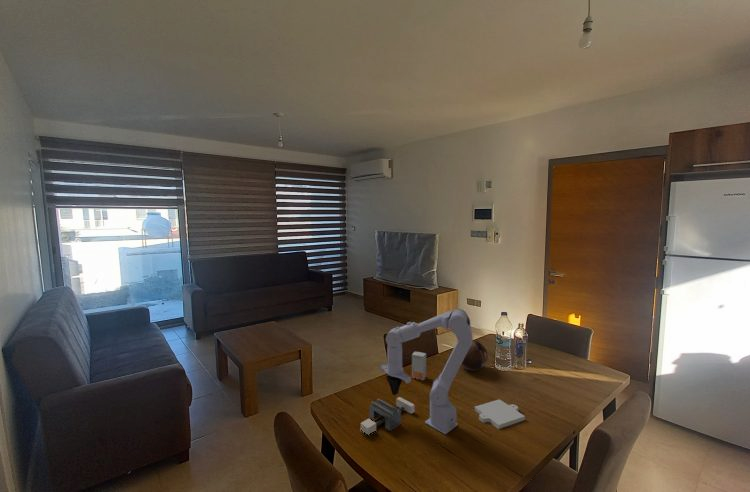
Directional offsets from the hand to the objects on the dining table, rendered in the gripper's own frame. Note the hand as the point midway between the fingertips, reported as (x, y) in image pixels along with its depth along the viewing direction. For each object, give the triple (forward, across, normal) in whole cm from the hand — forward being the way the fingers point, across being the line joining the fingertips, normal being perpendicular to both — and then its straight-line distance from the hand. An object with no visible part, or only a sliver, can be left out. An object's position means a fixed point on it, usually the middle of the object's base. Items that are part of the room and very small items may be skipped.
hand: (395, 393), depth 129 cm
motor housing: (+9, 0, +6) cm, 11 cm away
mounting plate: (+9, -28, -30) cm, 42 cm away
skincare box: (+9, +13, -30) cm, 34 cm away
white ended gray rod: (+9, 0, +5) cm, 10 cm away
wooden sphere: (+9, +1, -56) cm, 57 cm away
